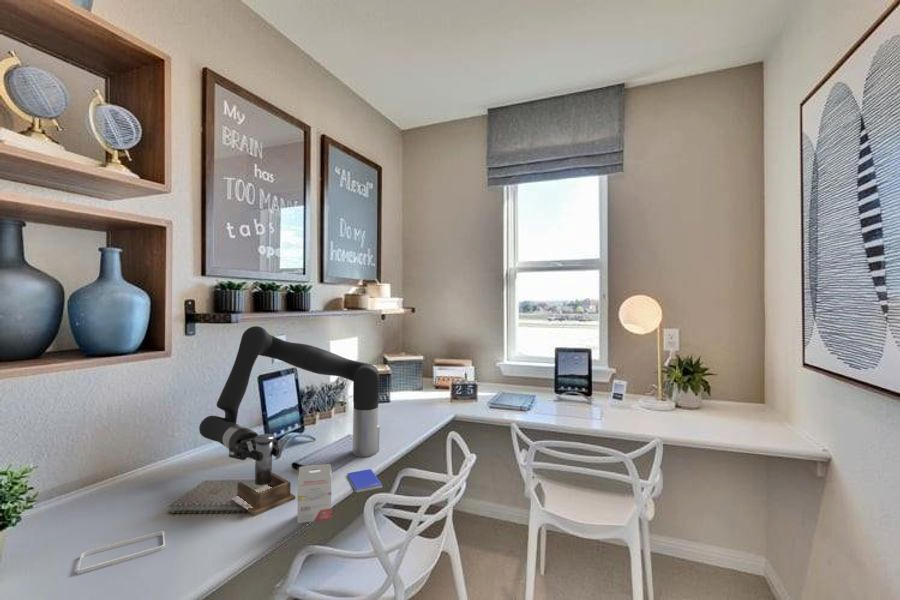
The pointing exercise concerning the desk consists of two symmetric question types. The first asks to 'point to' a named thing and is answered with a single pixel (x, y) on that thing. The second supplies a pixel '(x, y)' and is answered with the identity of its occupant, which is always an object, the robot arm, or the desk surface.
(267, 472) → the pin
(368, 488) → the hard drive
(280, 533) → the desk surface
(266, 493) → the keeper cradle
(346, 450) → the desk surface
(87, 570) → the rectangular frame
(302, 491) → the ink cartridge box
